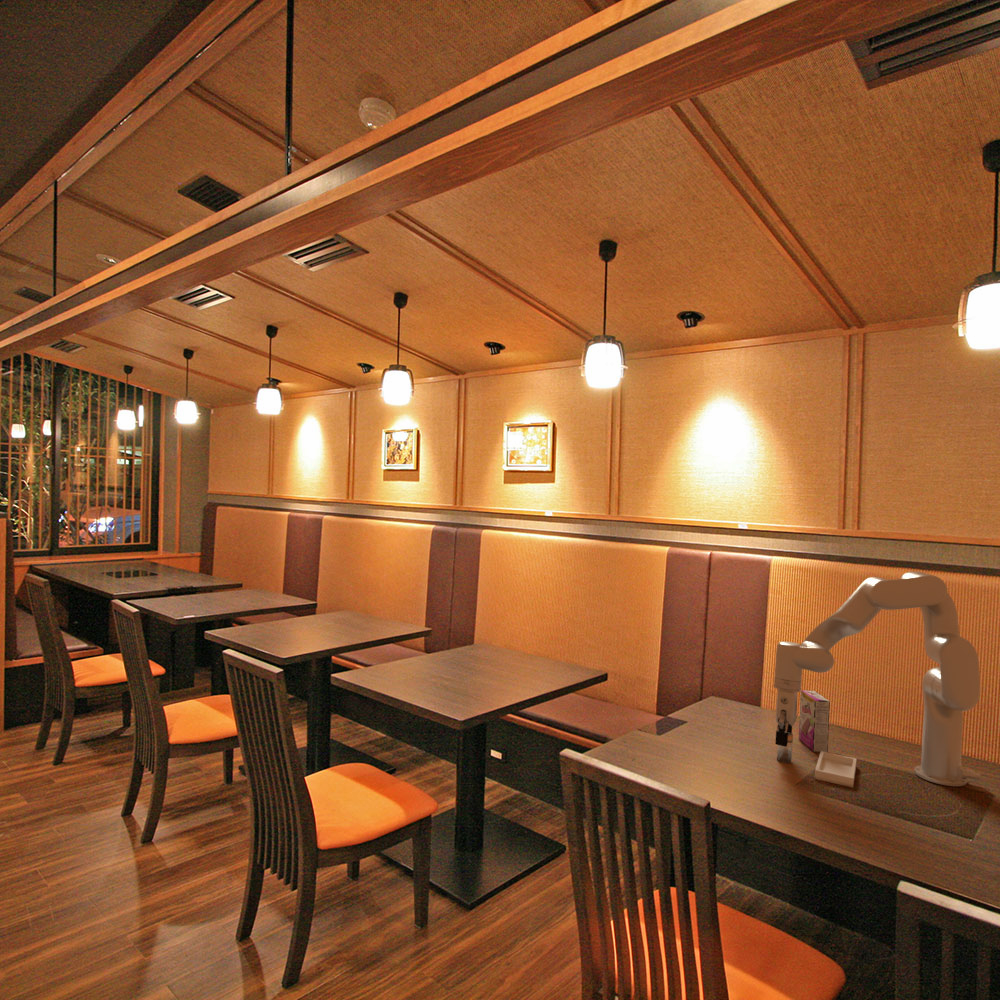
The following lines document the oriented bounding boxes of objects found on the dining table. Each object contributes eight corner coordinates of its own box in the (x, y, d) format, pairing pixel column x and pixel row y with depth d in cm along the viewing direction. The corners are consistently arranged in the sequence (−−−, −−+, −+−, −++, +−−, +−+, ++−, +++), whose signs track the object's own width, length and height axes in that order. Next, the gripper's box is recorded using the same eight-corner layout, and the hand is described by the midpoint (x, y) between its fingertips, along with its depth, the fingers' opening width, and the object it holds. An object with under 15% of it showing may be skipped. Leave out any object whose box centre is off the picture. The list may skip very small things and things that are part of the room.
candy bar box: (797, 739, 222) (799, 689, 222) (812, 740, 222) (815, 690, 222) (812, 752, 211) (815, 699, 211) (828, 753, 211) (831, 700, 211)
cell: (792, 759, 204) (793, 733, 204) (790, 764, 200) (792, 737, 200) (777, 756, 206) (779, 730, 206) (775, 760, 202) (777, 734, 202)
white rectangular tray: (856, 766, 200) (856, 758, 200) (853, 787, 185) (853, 778, 185) (820, 759, 205) (820, 751, 205) (814, 778, 190) (815, 769, 190)
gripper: (797, 692, 194) (793, 752, 194) (804, 680, 209) (800, 735, 209) (769, 687, 197) (765, 745, 198) (778, 675, 212) (774, 730, 213)
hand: (783, 740), depth 203 cm, fingers open, 9 cm apart
